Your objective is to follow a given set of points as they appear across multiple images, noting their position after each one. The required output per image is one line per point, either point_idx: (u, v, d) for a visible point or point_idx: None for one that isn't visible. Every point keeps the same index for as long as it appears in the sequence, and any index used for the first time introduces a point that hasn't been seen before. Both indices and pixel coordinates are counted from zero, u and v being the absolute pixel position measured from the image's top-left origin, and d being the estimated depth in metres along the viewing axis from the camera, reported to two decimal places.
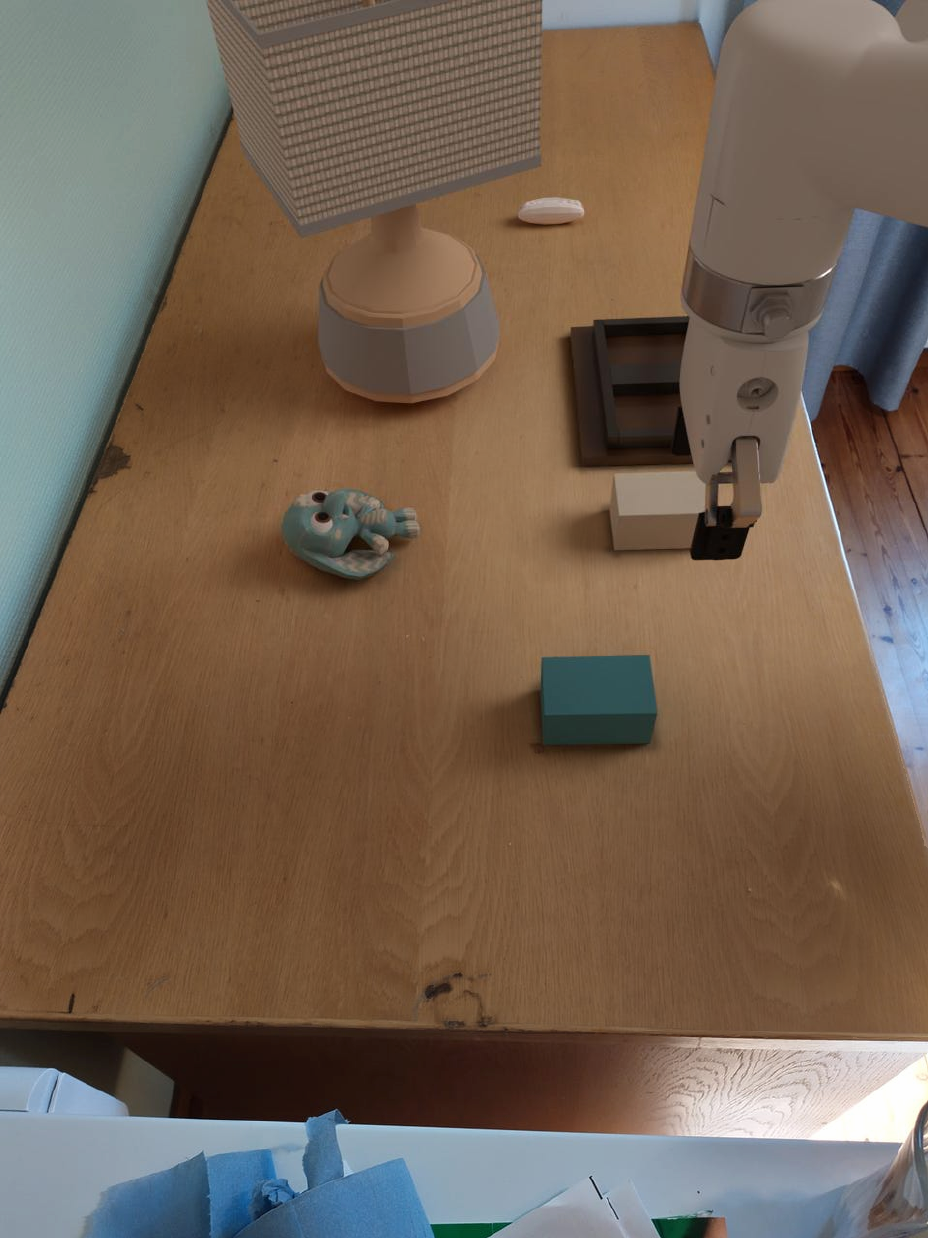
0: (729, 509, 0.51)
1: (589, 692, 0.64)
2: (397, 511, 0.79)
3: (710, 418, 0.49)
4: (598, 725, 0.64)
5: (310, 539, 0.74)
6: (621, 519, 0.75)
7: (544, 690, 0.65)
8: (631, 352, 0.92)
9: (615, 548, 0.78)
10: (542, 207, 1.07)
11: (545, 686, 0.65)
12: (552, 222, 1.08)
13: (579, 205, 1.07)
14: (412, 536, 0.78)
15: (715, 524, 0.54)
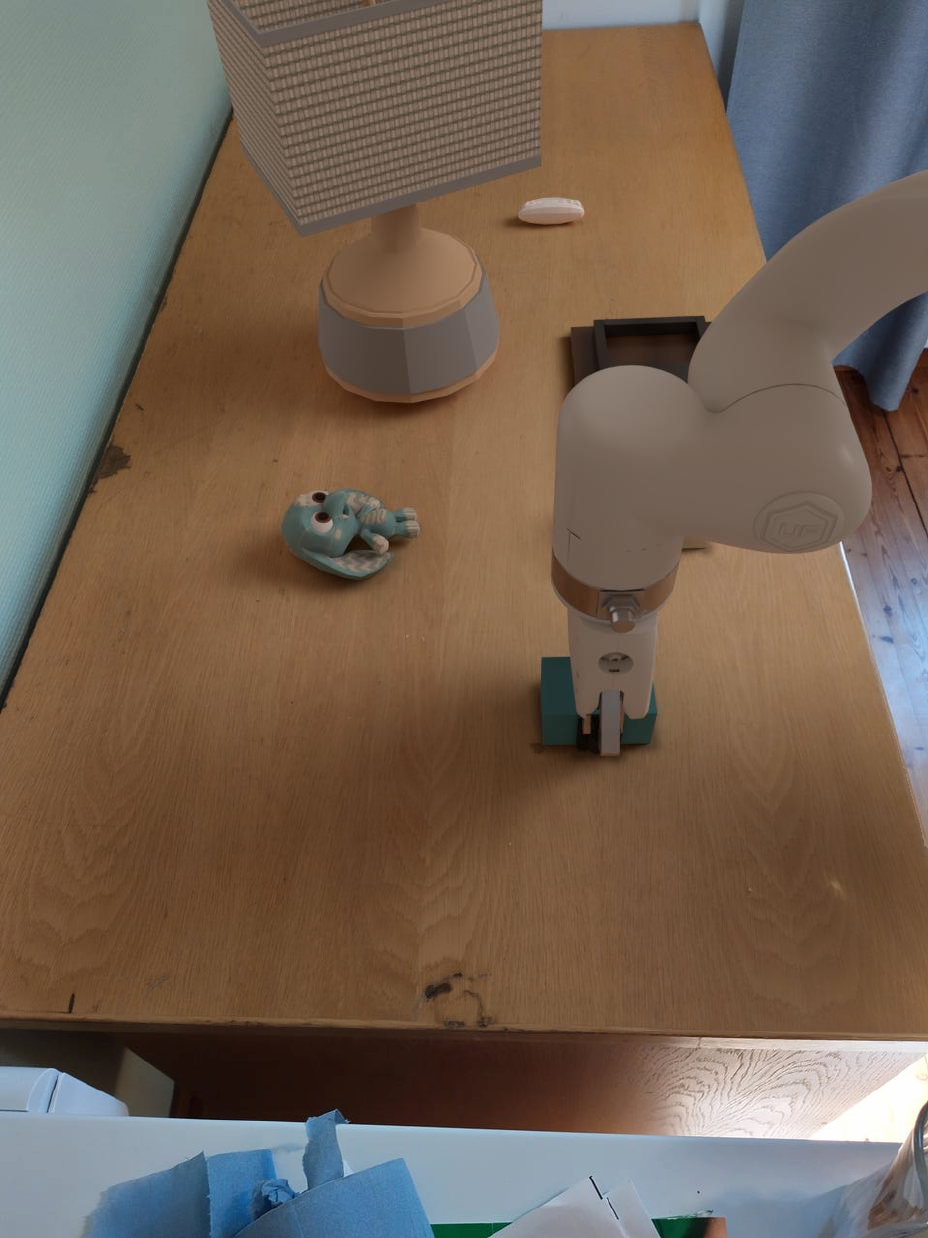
0: (597, 728, 0.60)
1: None
2: (397, 511, 0.79)
3: (579, 675, 0.56)
4: None
5: (310, 539, 0.74)
6: None
7: (544, 690, 0.65)
8: (631, 352, 0.92)
9: None
10: (542, 207, 1.07)
11: (545, 686, 0.65)
12: (552, 222, 1.08)
13: (579, 205, 1.07)
14: (413, 536, 0.78)
15: (589, 733, 0.62)
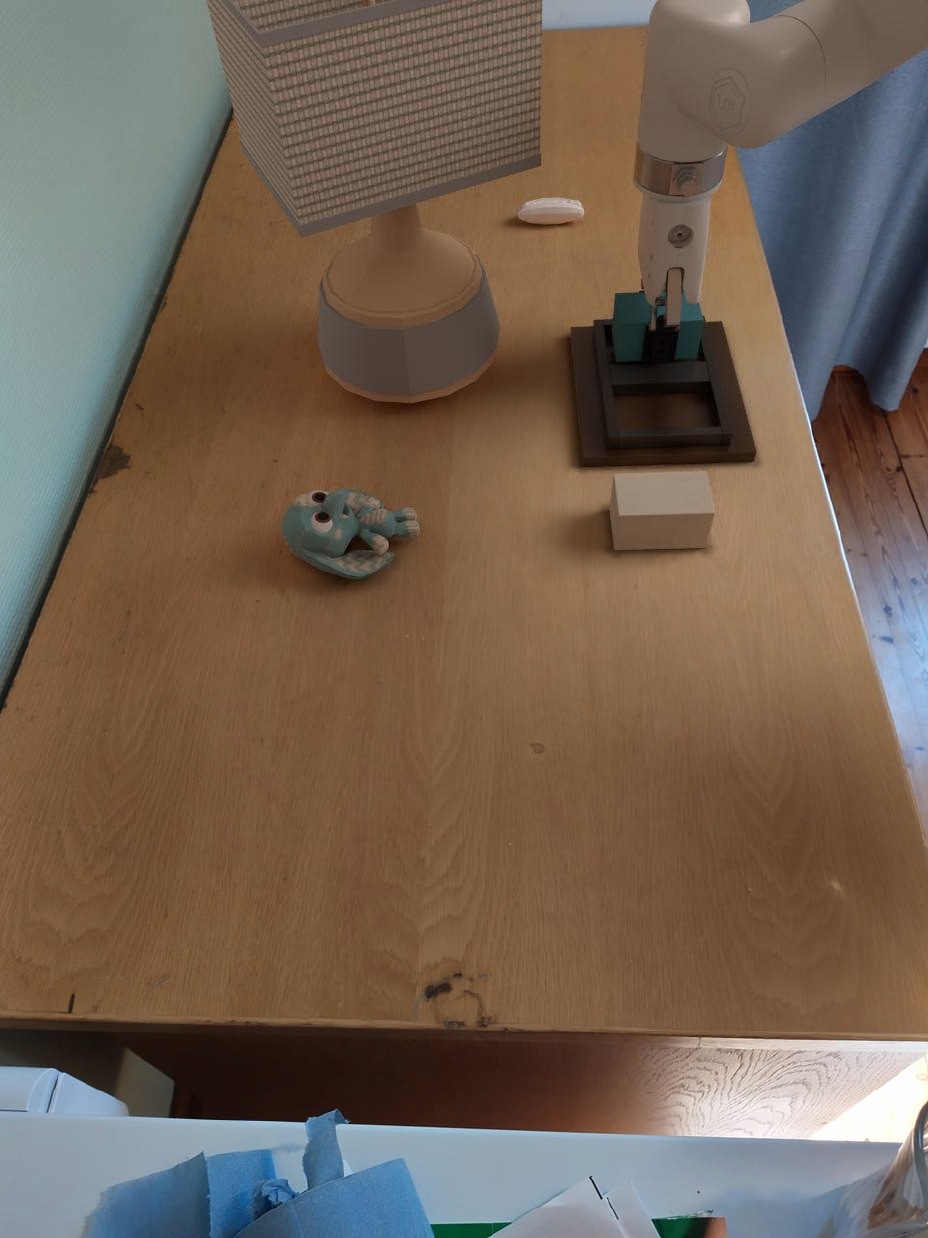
0: (662, 315, 0.82)
1: None
2: (397, 511, 0.79)
3: (652, 256, 0.78)
4: None
5: (310, 539, 0.74)
6: (621, 519, 0.75)
7: (618, 310, 0.87)
8: None
9: (615, 548, 0.78)
10: (542, 207, 1.07)
11: (619, 308, 0.87)
12: (552, 222, 1.08)
13: (579, 205, 1.07)
14: (412, 536, 0.78)
15: (655, 330, 0.84)
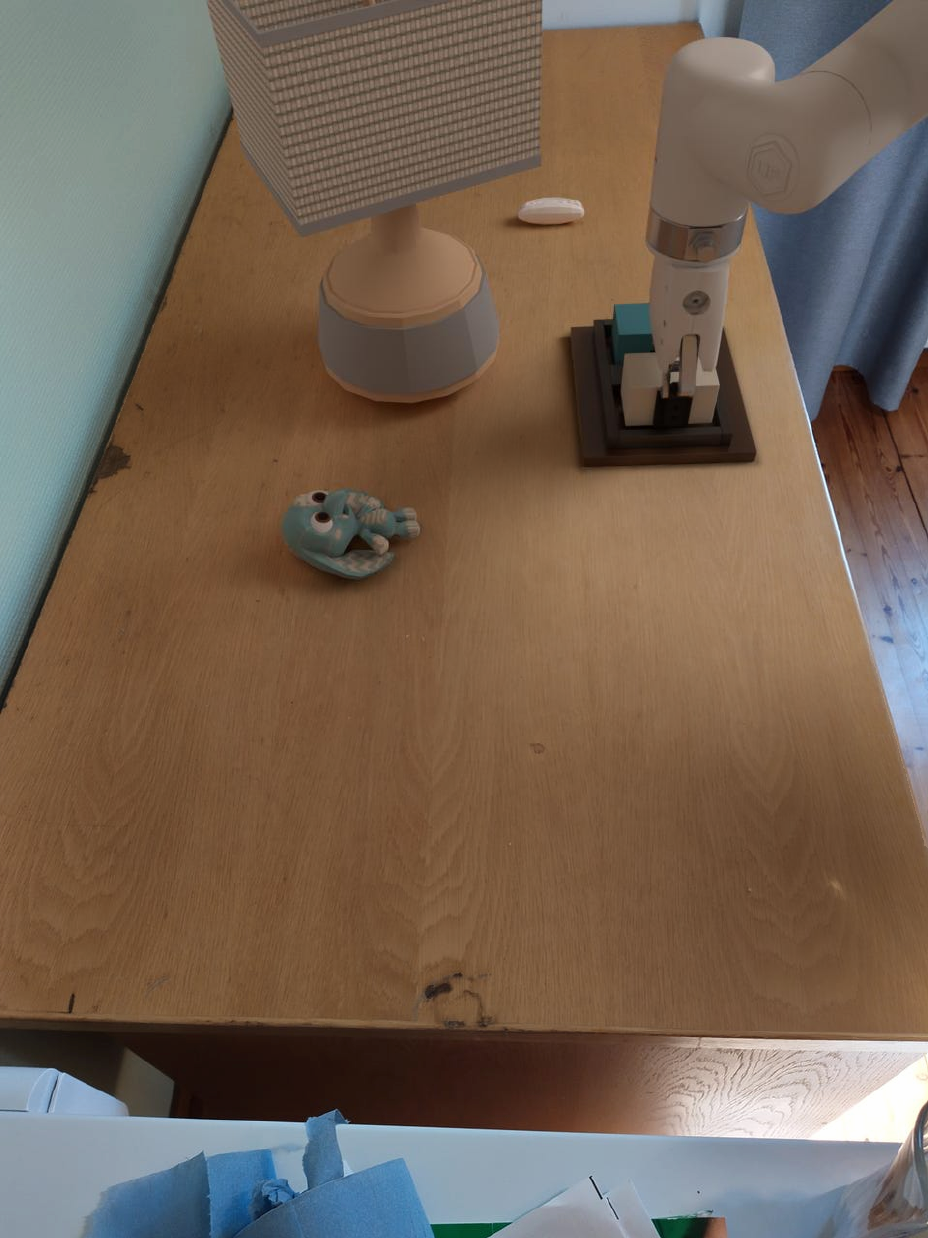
0: (675, 382, 0.76)
1: None
2: (397, 511, 0.79)
3: (666, 322, 0.72)
4: None
5: (310, 539, 0.74)
6: (632, 392, 0.80)
7: (617, 321, 0.88)
8: None
9: (626, 423, 0.83)
10: (542, 207, 1.07)
11: (618, 319, 0.88)
12: (552, 222, 1.08)
13: (579, 205, 1.07)
14: (413, 536, 0.78)
15: (667, 396, 0.79)
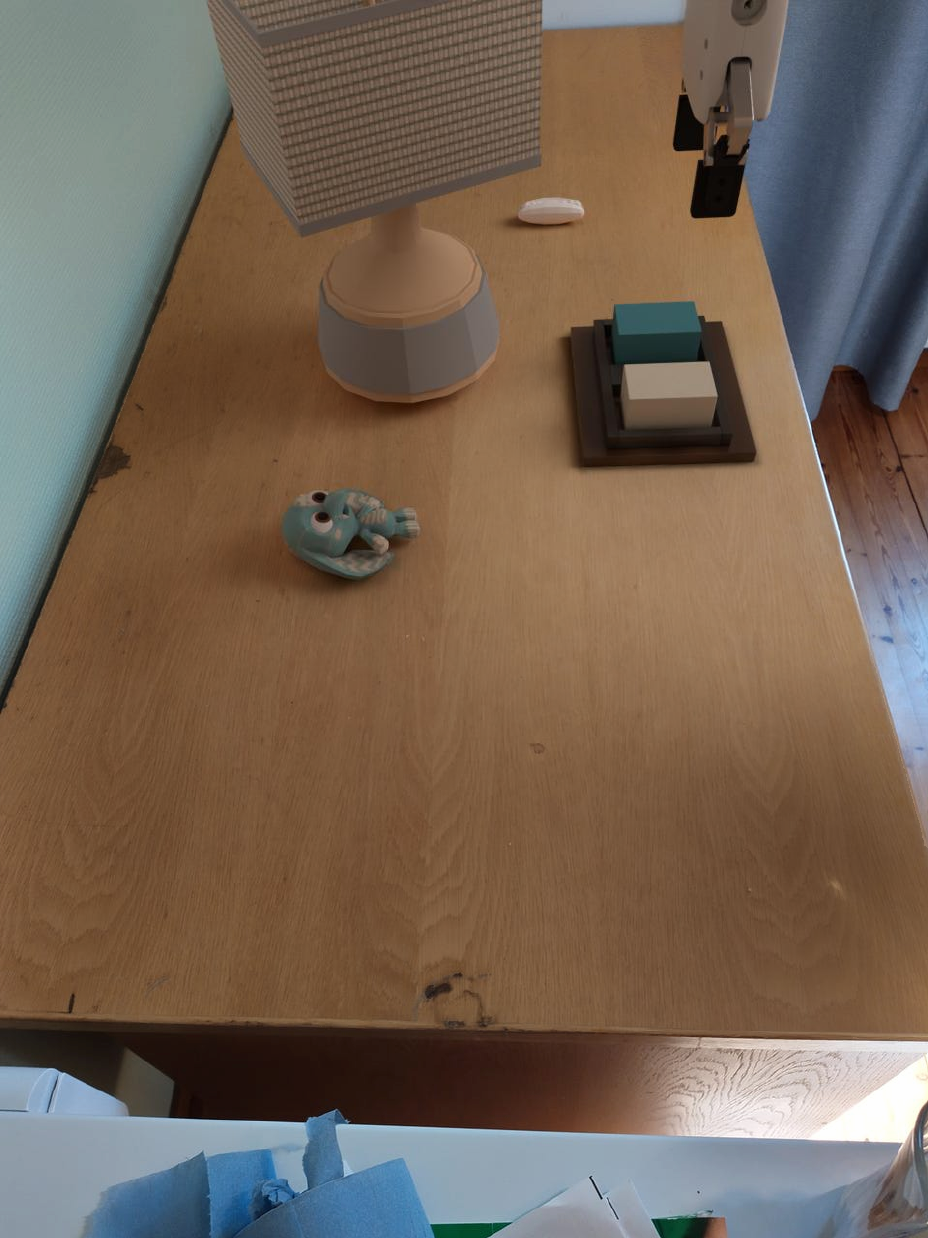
0: (725, 135, 0.58)
1: (651, 321, 0.87)
2: (397, 511, 0.79)
3: (708, 41, 0.56)
4: (657, 347, 0.88)
5: (310, 539, 0.74)
6: (631, 403, 0.81)
7: (617, 321, 0.88)
8: None
9: None
10: (542, 207, 1.07)
11: (618, 319, 0.88)
12: (552, 222, 1.08)
13: (579, 205, 1.07)
14: (412, 536, 0.78)
15: (712, 162, 0.60)
